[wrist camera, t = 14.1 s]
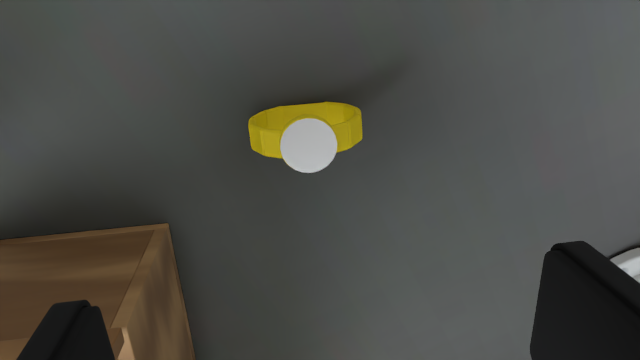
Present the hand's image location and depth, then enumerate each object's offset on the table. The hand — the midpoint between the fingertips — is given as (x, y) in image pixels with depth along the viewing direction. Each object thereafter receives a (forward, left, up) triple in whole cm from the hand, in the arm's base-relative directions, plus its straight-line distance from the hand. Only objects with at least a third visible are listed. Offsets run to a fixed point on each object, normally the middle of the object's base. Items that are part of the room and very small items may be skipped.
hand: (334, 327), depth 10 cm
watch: (-1, 0, -19) cm, 19 cm away
